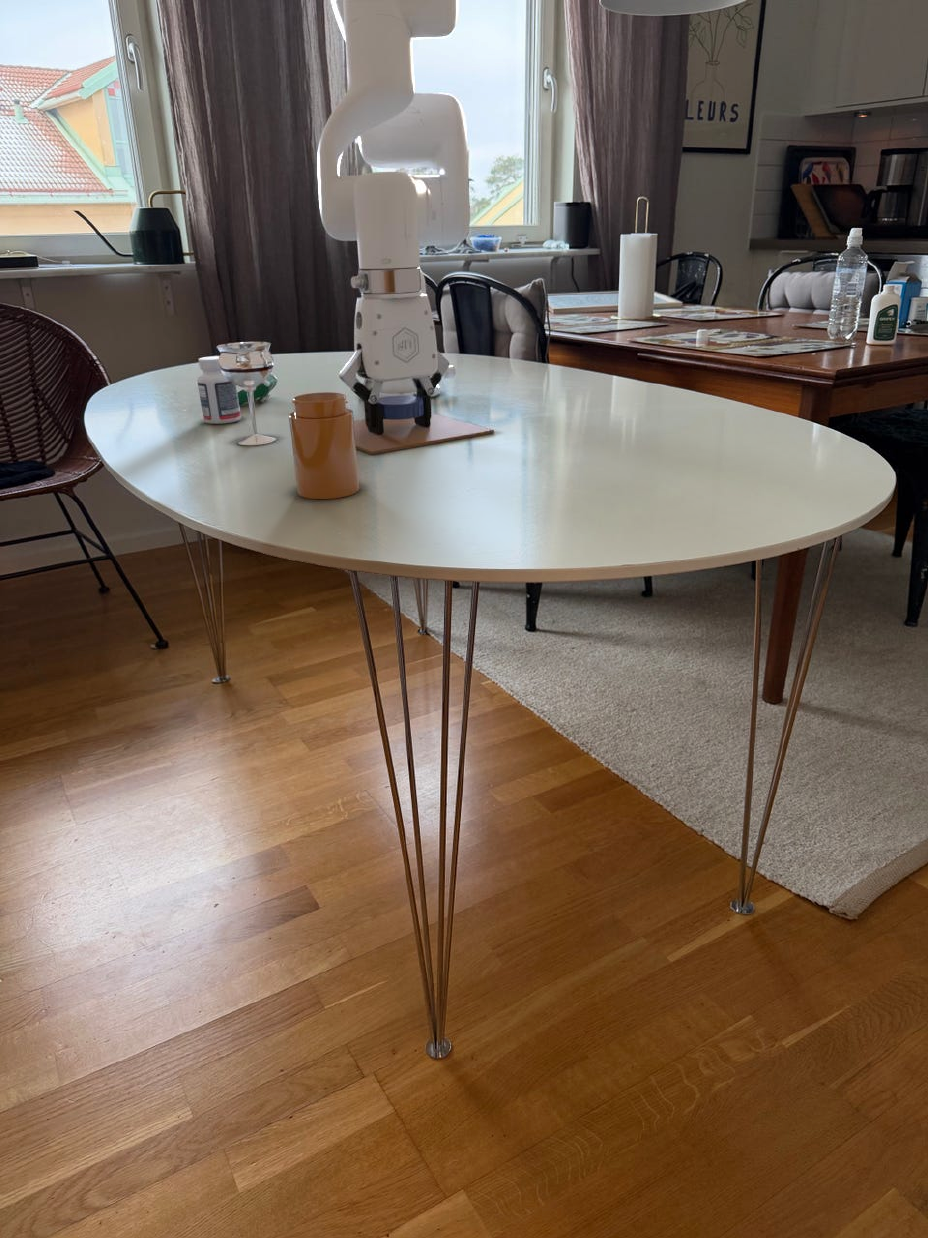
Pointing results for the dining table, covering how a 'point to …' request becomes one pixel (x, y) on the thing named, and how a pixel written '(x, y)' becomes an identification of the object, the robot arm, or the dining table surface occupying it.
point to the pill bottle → (217, 393)
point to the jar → (324, 446)
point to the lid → (401, 407)
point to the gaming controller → (259, 391)
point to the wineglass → (247, 375)
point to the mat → (413, 433)
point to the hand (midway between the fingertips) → (399, 427)
